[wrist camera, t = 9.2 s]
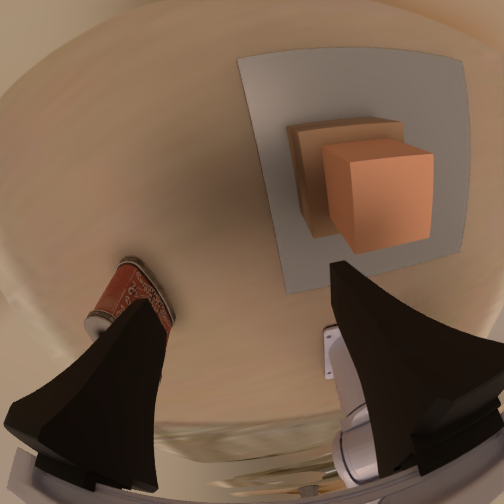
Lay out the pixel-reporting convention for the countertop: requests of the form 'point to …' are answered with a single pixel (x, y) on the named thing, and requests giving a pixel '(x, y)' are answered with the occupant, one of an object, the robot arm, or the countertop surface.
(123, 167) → the countertop surface
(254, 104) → the baseplate
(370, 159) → the top brick
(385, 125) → the base brick
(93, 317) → the lighter
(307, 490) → the coffeepot
